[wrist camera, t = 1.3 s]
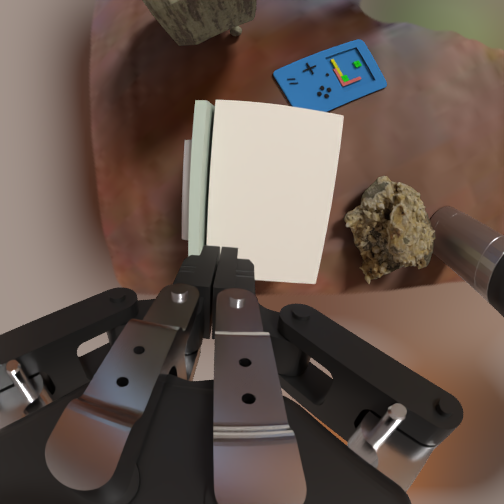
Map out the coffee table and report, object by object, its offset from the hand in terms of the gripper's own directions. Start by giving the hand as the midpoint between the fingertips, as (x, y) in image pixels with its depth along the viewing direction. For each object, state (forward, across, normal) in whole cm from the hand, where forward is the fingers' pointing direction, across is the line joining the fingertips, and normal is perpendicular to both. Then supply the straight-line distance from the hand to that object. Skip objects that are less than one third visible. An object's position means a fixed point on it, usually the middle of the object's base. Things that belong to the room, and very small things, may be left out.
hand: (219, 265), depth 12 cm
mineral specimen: (+27, -22, +4) cm, 35 cm away
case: (+27, -4, 0) cm, 27 cm away
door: (+26, +3, 0) cm, 26 cm away
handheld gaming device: (+28, -12, -16) cm, 34 cm away
